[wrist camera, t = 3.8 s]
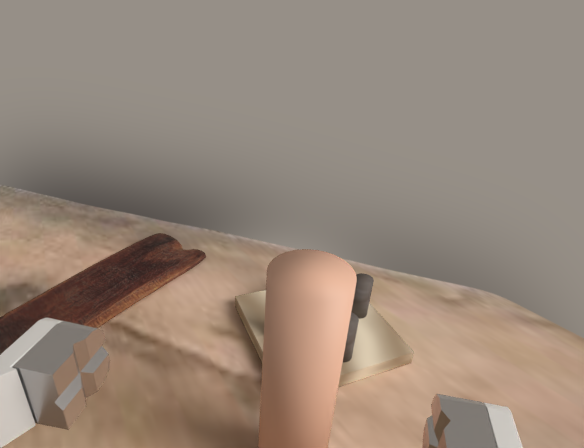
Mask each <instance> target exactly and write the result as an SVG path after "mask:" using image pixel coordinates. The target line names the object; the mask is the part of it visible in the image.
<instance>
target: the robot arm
mask: <svg viewBox="0 0 584 448" xmlns="http://www.w3.org/2000/svg"><path fill="white" fill-rule="evenodd" d="M105 341H106V339H105V335H104V331H103V330H101V329H98V328H93V327H89V326H84V325H80V324H75V323H71V322H67V321H61V320H56V319H52V318H47V317H46V318H44V319H41V320H39V321H38V322H36V323H35V324H34V325H33V326H32V327H31V328H30V329H29V330H28V331H26V332H25V333H24V334H23V335H22V336H21V337H20V338H19V339H17V340H16V341H15V342H14V343H13V344H12V345H11V346H10V347H8V348H7V349H6V350H5V351H4V352H3V353H2V354H1V355H0V448H2V447H3V446H5V445H6V444H8V443H9V442H11V441H13V440H14V439H16V438H17V437H19V436H20V435H22V434H23V433H25V432H26V431H28V430H29V429H31V428H32V427H34V426H35V425H36V424H35V423H37V424H42V425H47V426H52V427H57V428H62V429H67V430H69V429H70V427H71V426H72V425H73V423H74V422H75V421H76V419H77V418H78V417H79V415H80V414H81V413H82V411H83V410H84V409H85V407H86V397H88V396H90V395H92V394H94V393H96V392H97V391H98V390H99V389H100V387H101V386H102V384H103V383H104V382H105V379H106V377H107V374H108V372H109V366H110V359H109V354H108V353H107V351H106V350H105V349H104V348H103V347H102V345H103V344H104V342H105ZM431 408H432V416H431V417H429V418H427V420H426V424H425V428H424V435H423V448H523V447H522V444H521V440H520V437H519V434H518V431H517V428H516V425H515V422H514V419H513V416H512V413H511V411H510V410H509V408H508V407H504V406H499V405H494V404H488V403H482V402H478V401H473V400H467V399H462V398H456V397H451V396H446V395H440V394H436V395H435V396H434V398H433V401H432V404H431Z"/></svg>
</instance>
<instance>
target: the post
mask: <svg viewBox="0 0 584 448" xmlns="http://www.w3.org/2000/svg"><path fill="white" fill-rule="evenodd" d="M356 282H357V277H356V273H355V271H354V269H353V268H352V267H351V266H350V265H349V264H348V263H347V262H346V261H345V260H343V259H341V258H340V257H338V256H336V255H333V254H330V253H327V252H323V251H319V250H308V249H307V250H306V249H302V250H293V251H289V252H285V253H283V254H281V255H279V256H277V257H275V258H274V259H273V260H272V261H271V262H270V264H269V265H268V268H267V280H266V300H265V320H264V341H263V361H262V382H261V402H260V423H259V443H258V448H328V443H329V437H330V431H331V426H332V420H333V414H334V408H335V403H336V397H337V391H338V385H339V380H340V374H341V368H342V363H343V357H344V351H345V345H346V340H347V334H348V328H349V322H350V317H351V311H352V305H353V300H354V294H355V288H356Z"/></svg>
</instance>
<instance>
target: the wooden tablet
mask: <svg viewBox="0 0 584 448" xmlns="http://www.w3.org/2000/svg"><path fill="white" fill-rule="evenodd" d="M205 257H206V255H205V253H204V252H202V251H200V250H195V249H192V250H183V249H182V245H181V244H180V243H179V242H178V241H177V240H176V239H174V238H173V237H171V236H169V235H166V234H161V233H159V234H155V235H152V236H150V237H148V238H145V239H143V240H141V241H139V242H137V243H135V244H133V245H131V246H129V247H127V248H125V249H123V250H121V251H119V252H117V253H115V254H113V255H111V256H110V257H108V258H106V259H104V260H102V261H100V262H98V263H96V264H94V265H92V266H91V267H89V268H87V269H85V270H84V271H82V272H80V273H78V274H76V275H75V276H73V277H71V278H69V279H67V280H66V281H64V282H62V283H60V284H58V285H57V286H55V287H53V288H51V289H49V290H48V291H46V292H44V293H43V294H41V295H39V296H37V297H35V298H34V299H32V300H30V301H28V302H26V303H25V304H23V305H21V306H19V307H17V308H16V309H14V310H12V311H10V312H8V313H6V314H5V315H4V316H2V317H0V355H1V354H2V353H3V352H4V351H5V350H6V349H7V348H8V347H10V346H11V345H12V344H13V343H14V342H15V341H16V340H17V339H19V338H20V337H21V336H22V335H23V334H24V333H25V332H26V331H28V330H29V329H30V328H31V327H32V326H33V325H34V324H35V323H36V322H38V321H39V320H41V319H44V318H46V317H47V318H52V319H56V320H61V321H67V322H71V323H75V324H80V325H84V326H89V327H93V328H98V327H100V326H101V325H103V324H105V323H106V322H107V321H109V320H110V319H112V318H113V317H115V316H116V315H118V314H119V313H121V312H122V311H124V310H125V309H127V308H128V307H130V306H131V305H133V304H135V303H136V302H138V301H139V300H141V299H142V298H144V297H146V296H147V295H149V294H151V293H152V292H154V291H156V290H157V289H159V288H160V287H162V286H164V285H165V284H167V283H169V282H170V281H172V280H173V279H175V278H177V277H178V276H180V275H182V274H184V273H185V272H187V271H188V270H190V269H191V268H193V267H194V266H196V265H197V264H199V263H200V262H201V261H202V260H203V259H204V258H205Z"/></svg>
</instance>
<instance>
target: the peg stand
mask: <svg viewBox="0 0 584 448" xmlns="http://www.w3.org/2000/svg"><path fill="white" fill-rule="evenodd" d="M356 277H357V282H356V288H355V294H354V300H353V305H352V311H351V317H350V322H349V328H348V334H347V340H346V345H345V351H344V357H343V363H342V368H341V374H340V380H339V385H338V387H340V386H343V385H346V384H349V383H352V382H355V381H358V380H361V379H364V378H367V377H370V376H373V375H376V374H379V373H382V372H385V371H388V370H391V369H394V368H397V367H400V366H403V365H406V364H409V363H411V361H412V358H413V354H414V351H413V350H412V349H411V348H410V347H409V346H408V345H407V344H406V342H405V341H404V340H403V339H402V338H401V337H400V336H399V335H398V334H397V332H396V331H395V330H394V329H393V328H392V327H391V326H390V325H389V324H388V323H387V321H386V320H385V319H384V318H383V317H382V316H381V315H380V314H379V313H378V311H377V310H376V309H375V308H374V307H373V306H372V305H371V304H370V303H369V301H370V296H371V291H372V286H373V278H372V277H371V276H369V275H367V274H357V275H356ZM265 300H266V290H263V291H258V292H254V293H249V294H244V295H239V296H235V307H236V309H237V311H238V314H239V316H240V318H241V320H242V322H243V324H244V326H245V328H246V330H247V332H248V334H249V336H250V338H251V341H252V343H253V345H254V347H255V349H256V351H257V353H258V355H259V357H260V359H261V361H263V341H264V320H265Z"/></svg>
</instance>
